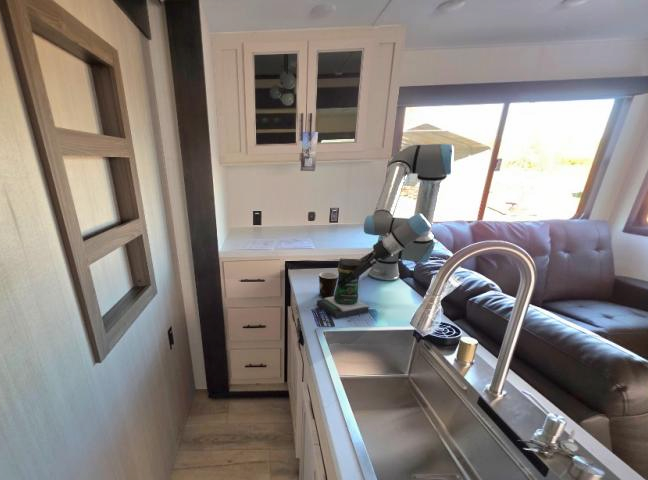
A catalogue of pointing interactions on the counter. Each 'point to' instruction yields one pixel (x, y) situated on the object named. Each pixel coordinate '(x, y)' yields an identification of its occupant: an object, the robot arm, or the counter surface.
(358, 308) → the kitchen scale
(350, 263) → the coffee jar
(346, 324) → the counter surface
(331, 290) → the coffee mug
